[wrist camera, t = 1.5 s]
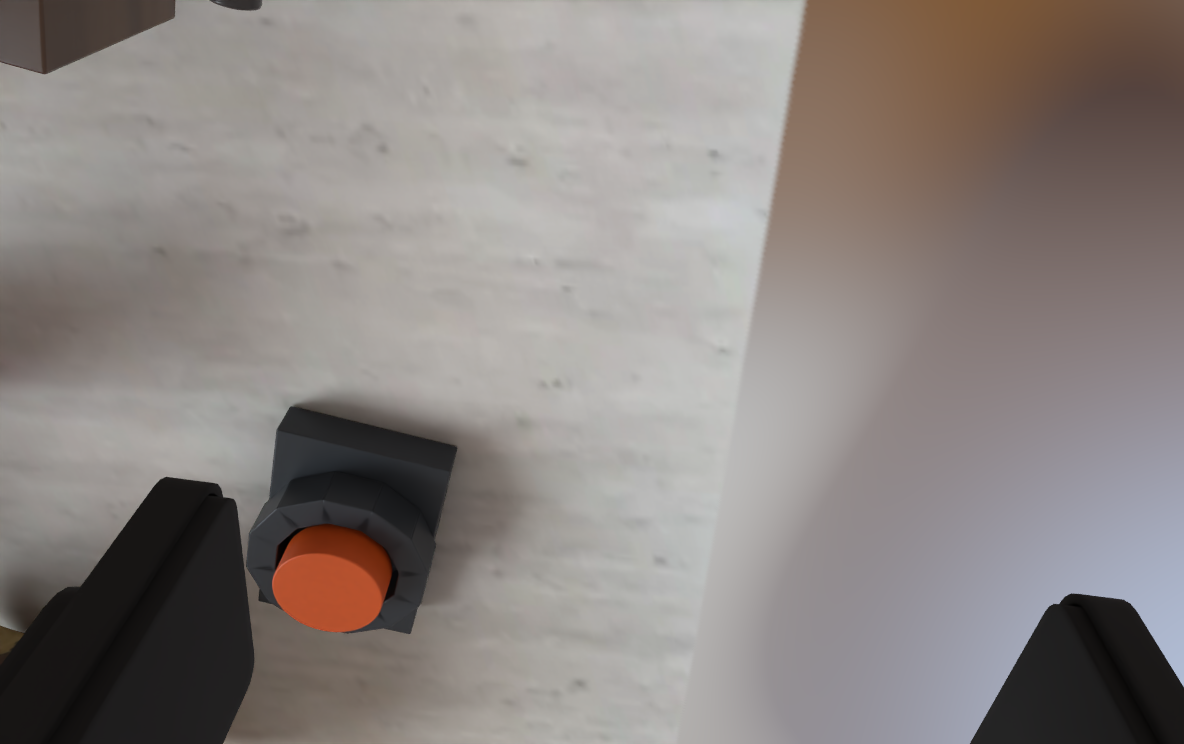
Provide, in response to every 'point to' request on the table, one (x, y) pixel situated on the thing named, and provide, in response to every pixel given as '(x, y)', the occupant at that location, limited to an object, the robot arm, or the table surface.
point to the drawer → (78, 27)
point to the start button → (332, 578)
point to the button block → (355, 501)
